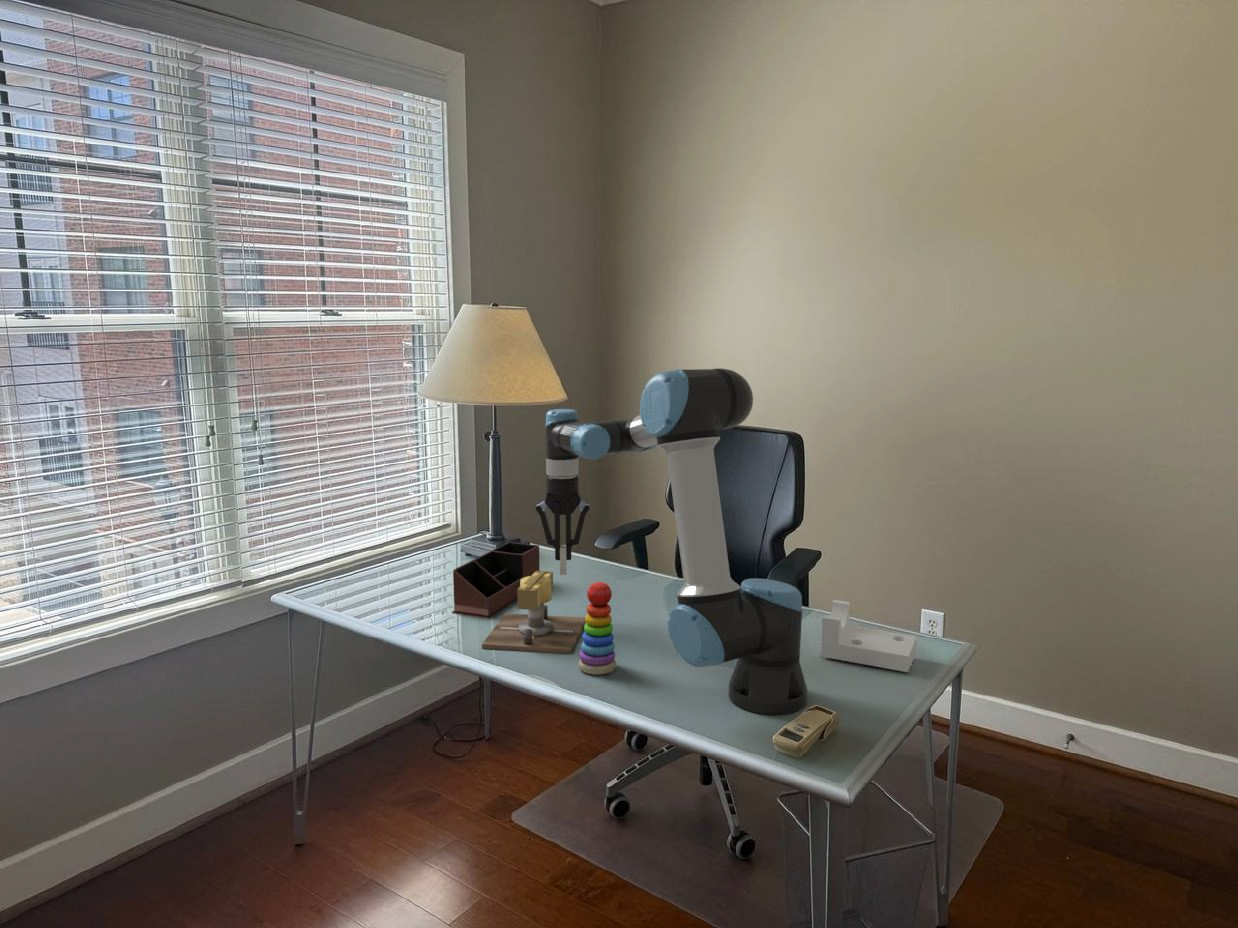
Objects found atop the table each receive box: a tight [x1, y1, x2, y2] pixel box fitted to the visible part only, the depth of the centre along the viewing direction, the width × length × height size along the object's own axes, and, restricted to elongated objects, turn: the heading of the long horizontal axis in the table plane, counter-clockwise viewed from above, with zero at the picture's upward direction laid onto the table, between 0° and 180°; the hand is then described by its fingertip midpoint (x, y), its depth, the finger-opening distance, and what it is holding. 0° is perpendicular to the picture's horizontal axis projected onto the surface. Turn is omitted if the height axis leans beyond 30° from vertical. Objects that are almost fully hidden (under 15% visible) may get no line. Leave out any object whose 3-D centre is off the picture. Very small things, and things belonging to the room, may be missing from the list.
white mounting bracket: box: [821, 599, 917, 673], centre depth 192 cm, size 18×10×10 cm, turn 63°
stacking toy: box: [577, 581, 617, 676], centre depth 185 cm, size 8×8×19 cm
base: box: [481, 603, 586, 654], centre depth 205 cm, size 20×20×8 cm
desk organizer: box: [451, 541, 540, 619], centre depth 230 cm, size 10×29×11 cm, turn 159°
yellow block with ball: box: [516, 570, 554, 611], centre depth 204 cm, size 14×7×5 cm, turn 168°
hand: (563, 572), depth 212 cm, fingers closed
